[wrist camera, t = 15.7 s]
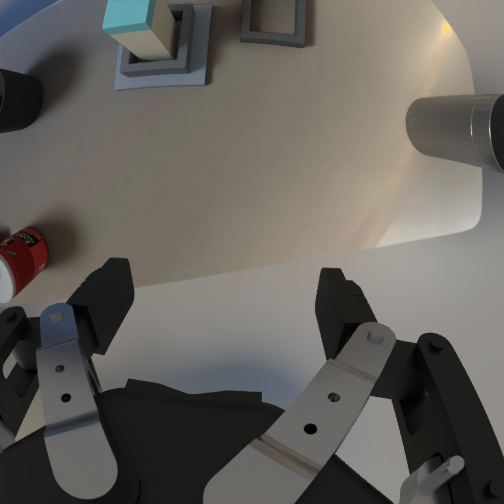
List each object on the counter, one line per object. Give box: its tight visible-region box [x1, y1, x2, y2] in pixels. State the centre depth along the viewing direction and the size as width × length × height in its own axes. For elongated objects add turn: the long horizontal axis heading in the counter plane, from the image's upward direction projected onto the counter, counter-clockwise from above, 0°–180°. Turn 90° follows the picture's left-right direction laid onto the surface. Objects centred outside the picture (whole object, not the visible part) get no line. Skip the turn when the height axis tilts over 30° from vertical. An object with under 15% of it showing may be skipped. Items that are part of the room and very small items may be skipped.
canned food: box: [0, 228, 48, 303], centre depth 34 cm, size 8×8×11 cm
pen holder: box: [0, 69, 42, 133], centre depth 25 cm, size 9×9×10 cm
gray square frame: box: [240, 0, 306, 48], centre depth 29 cm, size 8×9×2 cm
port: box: [114, 4, 212, 91], centre depth 28 cm, size 12×12×4 cm
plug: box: [102, 0, 178, 62], centre depth 23 cm, size 4×5×14 cm
